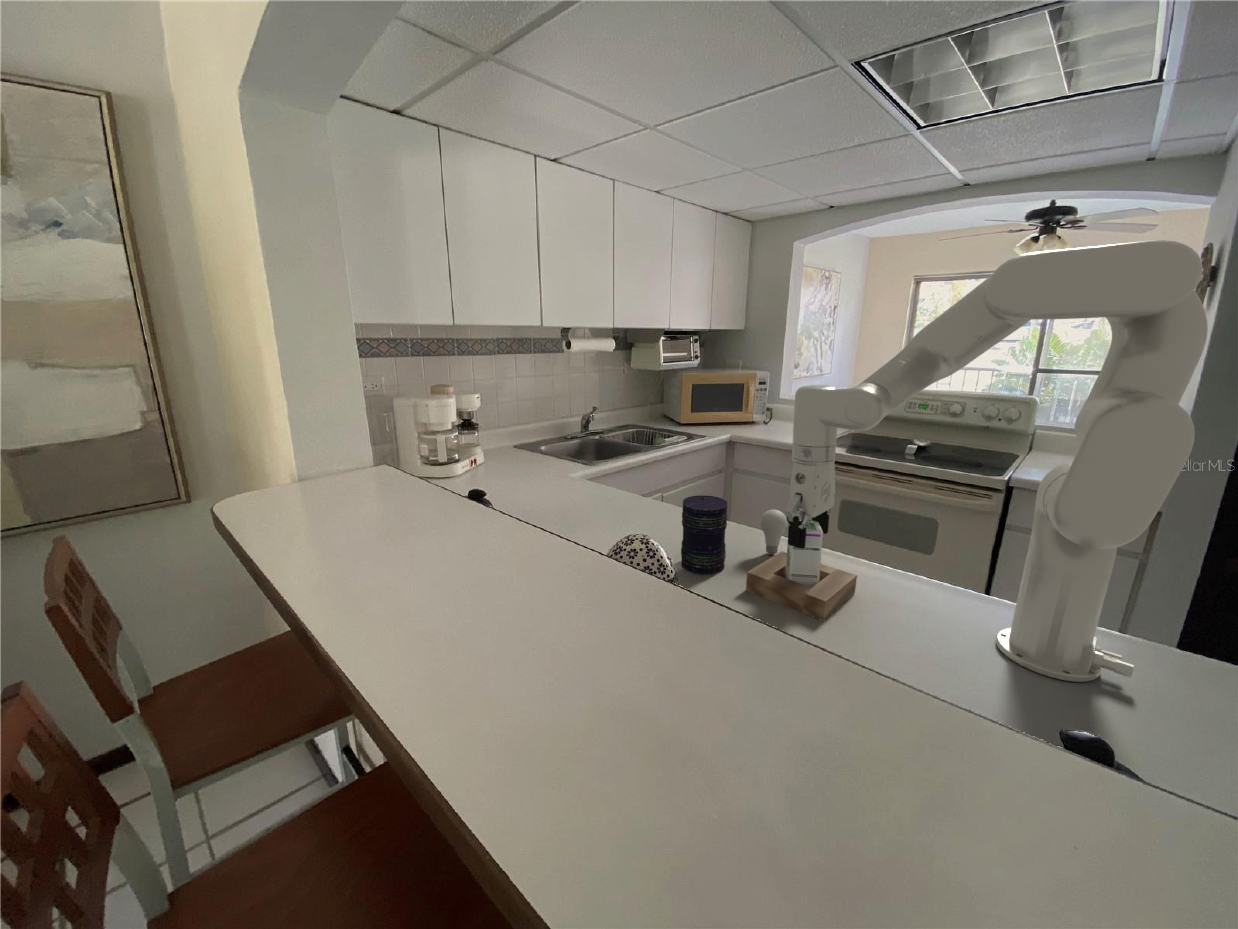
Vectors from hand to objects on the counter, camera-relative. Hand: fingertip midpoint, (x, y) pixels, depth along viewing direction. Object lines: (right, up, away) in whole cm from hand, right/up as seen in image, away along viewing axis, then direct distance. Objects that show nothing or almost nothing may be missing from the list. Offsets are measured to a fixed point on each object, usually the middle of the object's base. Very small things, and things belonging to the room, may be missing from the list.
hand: (808, 539), depth 95 cm
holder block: (0, -11, +3) cm, 12 cm away
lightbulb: (-1, -7, +20) cm, 22 cm away
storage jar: (-18, -8, +15) cm, 25 cm away
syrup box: (0, -11, +3) cm, 12 cm away
